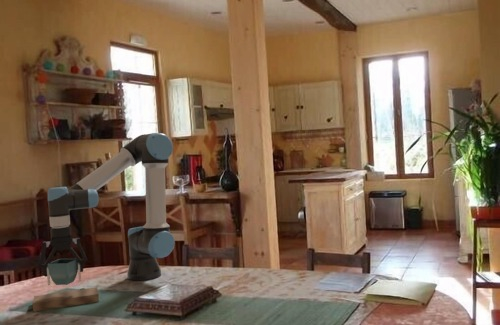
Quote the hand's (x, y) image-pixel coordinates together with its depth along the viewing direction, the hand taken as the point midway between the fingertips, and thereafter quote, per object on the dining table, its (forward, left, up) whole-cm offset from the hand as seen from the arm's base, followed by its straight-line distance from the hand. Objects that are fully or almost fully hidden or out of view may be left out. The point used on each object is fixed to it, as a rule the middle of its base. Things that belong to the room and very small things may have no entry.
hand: (64, 282), depth 221 cm
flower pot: (0, 0, -1) cm, 1 cm away
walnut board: (0, 0, -8) cm, 8 cm away
